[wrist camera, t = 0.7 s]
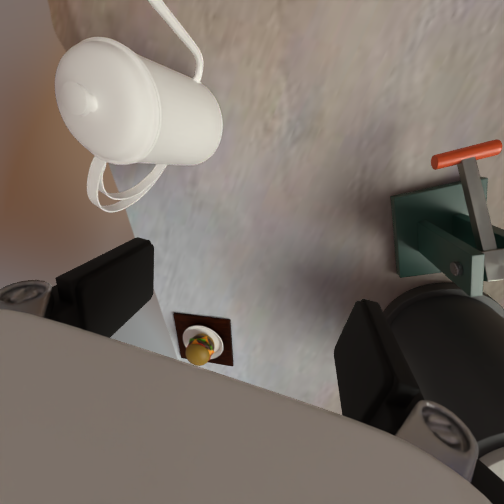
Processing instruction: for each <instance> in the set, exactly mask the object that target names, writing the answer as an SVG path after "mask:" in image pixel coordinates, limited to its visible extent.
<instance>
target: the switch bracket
mask: <svg viewBox="0 0 504 504" xmlns="http://www.w3.org/2000/svg"><path fill="white" fill-rule="evenodd" d="M480 179H481V183H482V187H483V191H484V195H485V199H486V201H487V183H488V178H485V177H480ZM391 206H392V219H393V231H394V244H395V256H396V269H397V274H398V276H399V277H400V278H402V277H410V276H417V275H425V274H433V273H441V272H442V273H444V274H445V275H446V276H447V277H448V278H449V279H450V280H452V281H453V282H454V283H455V284H456V285H457V286H458V287H459V288H461V289H462V290H463V291H464V292H465V293H466V294H467V295H469V296H470V297H475V296H482V295H483V278H484V260H485V254H484V253H482V252H480V251H479V250H477V248H476V244H475V239H474V235H473V231H472V227H471V222H470V218H469V214H468V209H467V205H466V201H465V197H464V192H463V188H462V184H461V181H458V182H454V183H449V184H445V185H440V186H436V187H431V188H427V189H422V190H418V191H413V192H408V193H404V194H399V195H395V196H391ZM492 229H493V233H494V237H495V241H496V245H497V248H504V230H503V229H501V228H498V227H496V226H493V225H492Z"/></svg>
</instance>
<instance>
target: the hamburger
mask: <svg viewBox="0 0 504 504" xmlns="http://www.w3.org/2000/svg"><path fill="white" fill-rule="evenodd" d="M173 315H174V320H175V326H176V331H177V337H178V342H179V348H180V353H181V358H185V359H188V361H189V362H190V363H192V364H194V365H198V366H201V365H204V364H206V363H207V362H210V363H216V364H222V365H228V366H233V352H232V337H231V323H230V320H229V319H221V318H213V317H205V316H197V315H189V314H181V313H174V314H173Z"/></svg>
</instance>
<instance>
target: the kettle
mask: <svg viewBox="0 0 504 504" xmlns="http://www.w3.org/2000/svg"><path fill="white" fill-rule="evenodd" d="M383 314H384V316H385V318H386V320H387V322H388V324H389V326H390V328H391V330H392V332H393V334H394V336H395V338H396V340H397V342H398V344H399V346H400V349H401V351H402V353H403V355H404V357H405V359H406V361H407V363H408V365H409V367H410V369H411V371H412V373H413V375H414V377H415V379H416V381H417V384H418V386H419V388H420V391H421V393H422V395H423V397H424V399H425V400H429V401H433V402H436V403H438V404H440V405H442V406H444V407H445V408H447V409H448V410H450V411H451V412H453V413H454V414H455V415H456V416H457V417H458V418H460V419H461V420H462V421H463V423H464V424H465V425H466V426H467V427H468V428H469V429H470V431H471V432H472V434H473V435H474V437H475V439H476V441H477V444H478V446H479V454H478V459H479V460H480V461H481V462H482V463H484V464H485V465H486V466H487V467H488V468H489V469H490V470H492V471H493V472H494V473H495V474H496V475H497V476H498V477H499V478H501V479H502V480H503V481H504V309H503V308H502V307H501V306H500V305H499V304H498V303H497V302H496V301H495V300H493V299H492V298H491V297H489V296H488V295H487V294H485V293H484V292H483V295H482V296H475V297H470V296H469V295H467V294H466V293H465V292H464V291H463V290H462V289H461V288H459V287H458V286H457V285H456V284H455V283H435V284H429V285H424V286H420V287H417V288H415V289H412V290H410V291H408V292H406V293H404V294H402V295H401V296H399V297H397V298H396V299H395V300H394V301H393V302H391V304H390V305H389V306H388V307H387V308H386V309H385V311H384V312H383Z"/></svg>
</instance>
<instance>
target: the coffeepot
mask: <svg viewBox="0 0 504 504" xmlns="http://www.w3.org/2000/svg"><path fill="white" fill-rule="evenodd" d="M147 1H148V2H149V3H150V4H151V5H152V7H153V8H154V9H155V10H156V11H157V13H158V14H159V15H160V16H161V17H162V18H163V19H164V21H165V22H166V23H167V24H168V25H169V26H170V28H171V29H172V30H173V31H174V32H175V33H176V35H177V36H178V37H179V38H180V39H181V40H182V42H183V43H184V44H185V45H186V46H187V47H188V48H189V50H190V51H191V52H192V54H193V55H194V57H195V60H196V69H195V74H194V77H193V78H191V77H189V76H186V75H184V74H182V73H179V72H177V71H175V70H172V69H170V68H168V67H166V66H163V65H161V64H159V63H156V62H154V61H152V60H149V59H147V58H145V57H143V56H140V55H138V54H136V53H134V52H133V51H132V50H131V49H129V48H128V47H126V46H125V45H123V44H121V43H120V42H118V41H115V40H113V39H110V38H106V37H91V38H87V39H85V40H83V41H81V42H79V43H78V44H77V45H75V46H73V47H71V48H70V49H69V50H68V51H67V52H66V53H65V54H64V55H63V57H62V58H61V60H60V62H59V64H58V67H57V71H56V75H55V95H56V101H57V105H58V108H59V111H60V114H61V116H62V118H63V120H64V123H65V124H66V126H67V128H68V129H69V131H70V132H71V134H72V135H73V136H74V137H75V138H76V139H77V140H78V142H80V143H81V144H82V145H83V146H84V147H85V148H86V149H88V150H89V151H90V152H91V153H92V154H93V155H95V157H94V158H93V161H92V163H91V166H90V169H89V173H88V179H87V193H88V197H89V199H90V200H91V202H92V203H93V204H95V205H96V206H98V207H99V208H101V209H102V210H104V211H106V212H117V211H121V210H123V209H125V208H127V207H129V206H130V205H132V204H134V203H135V202H136V201H138V200H139V199H140V198H141V197H142V196H143V195H144V194H145V193H146V192H147V191H148V190H149V189H150V188H151V187H152V186H153V185H154V183H155V182H156V181H157V180H158V178H159V177H160V175H161V174H162V172H163V171H164V169H165V168H166V166H167V165H185V166H192V165H197V164H200V163H203V162H205V161H206V160H208V159H209V158H210V157H211V156H212V155H213V154H214V153H215V151H216V150H217V148H218V146H219V143H220V141H221V137H222V131H223V121H222V114H221V110H220V107H219V105H218V102H217V100H216V99H215V97H214V95H213V94H212V93H211V91H210V90H209V89H208V88H207V87H206V86H205V85H203V84H202V83H201V81H200V80H201V77H202V73H203V57H202V54H201V51H200V49H199V48H198V46H197V45H196V43H195V42H194V41H193V39H192V38H191V37H190V36H189V34H188V33H187V32H186V30H185V29H184V28H183V27H182V25H181V24H180V23H179V21H178V20H177V19H176V17H175V16H174V15H173V14H172V12H171V11H170V10H169V8H168V7H167V6H166V5H165V3H164V2H163V1H162V0H147ZM107 162H108V163H112V164H116V165H128V164H133V163H149V164H156V166H155V167H154V169H153V170H152V171H151V173H150V174H149V175H148V176H147V177H145V178H144V179H143V180H142V181H141V182H140V183H138V184H137V185H136V186H134V187H133V188H131V189H129V190H126V191H124V192H120V193H107V192H106V191H105V188H104V185H103V172H104V170H105V167H106V163H107ZM98 190H99V191H101V192H102V193H104V194H105V195H106V196H108V197H109V198H111V199H115V200H122V201H120V202H118V203H115V204H112V205H109V206H101V205H100V203H99V200H98Z"/></svg>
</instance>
